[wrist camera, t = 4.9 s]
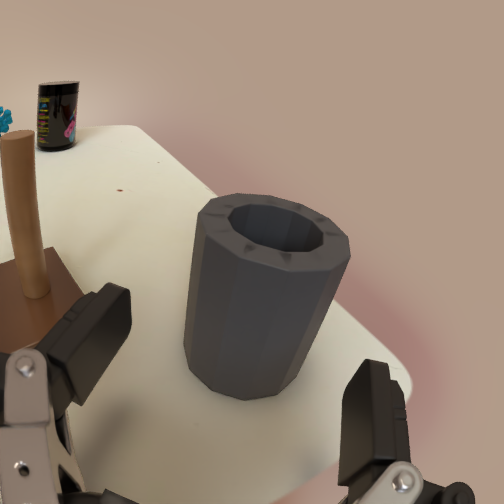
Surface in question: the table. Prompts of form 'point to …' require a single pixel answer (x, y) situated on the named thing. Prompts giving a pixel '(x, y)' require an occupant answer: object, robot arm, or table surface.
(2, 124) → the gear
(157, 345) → the table surface
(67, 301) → the rack
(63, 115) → the supplement container
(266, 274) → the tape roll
